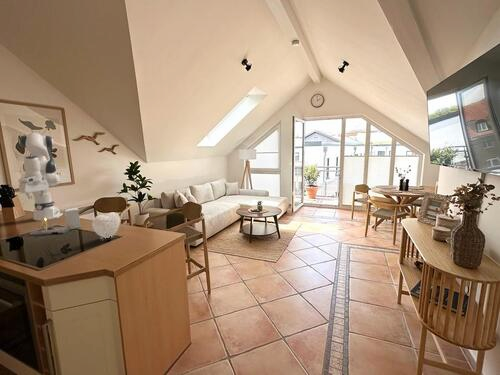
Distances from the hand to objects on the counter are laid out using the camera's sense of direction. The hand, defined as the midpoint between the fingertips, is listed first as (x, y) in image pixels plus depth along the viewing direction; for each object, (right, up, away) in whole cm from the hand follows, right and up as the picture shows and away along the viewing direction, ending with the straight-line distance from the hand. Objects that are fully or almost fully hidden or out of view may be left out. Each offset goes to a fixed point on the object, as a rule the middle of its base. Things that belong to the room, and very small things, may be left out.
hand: (36, 197), depth 176 cm
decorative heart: (+61, -27, -14) cm, 68 cm away
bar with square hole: (+12, -25, -2) cm, 28 cm away
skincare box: (+22, -24, +8) cm, 33 cm away
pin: (+3, -24, +4) cm, 25 cm away
